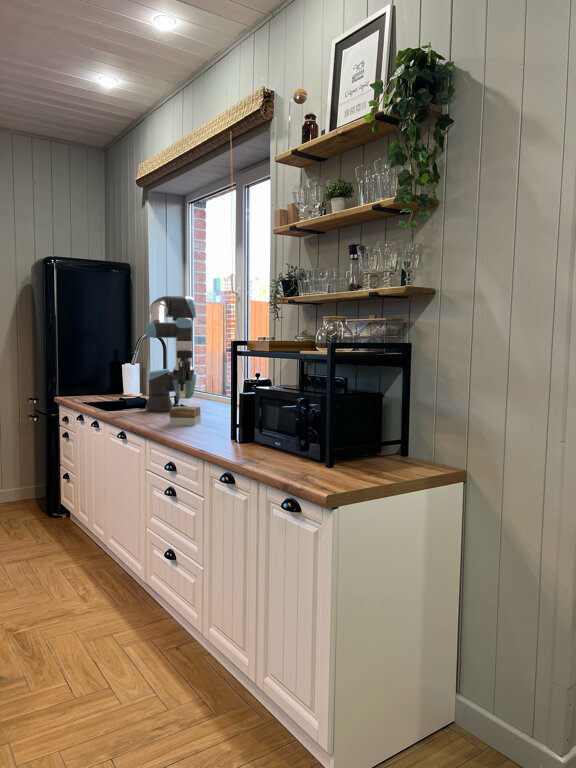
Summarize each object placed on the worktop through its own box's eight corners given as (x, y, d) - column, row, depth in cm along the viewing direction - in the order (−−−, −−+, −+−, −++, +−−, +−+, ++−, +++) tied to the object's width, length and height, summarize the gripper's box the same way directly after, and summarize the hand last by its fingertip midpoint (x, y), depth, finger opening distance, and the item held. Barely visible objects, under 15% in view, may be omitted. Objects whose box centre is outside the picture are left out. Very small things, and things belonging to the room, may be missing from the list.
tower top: (176, 414, 292) (176, 406, 292) (200, 414, 291) (200, 406, 290) (169, 417, 280) (169, 409, 280) (194, 417, 279) (194, 409, 279)
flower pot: (196, 397, 288) (195, 379, 288) (191, 399, 280) (191, 380, 279) (178, 397, 289) (178, 379, 289) (173, 399, 281) (173, 380, 280)
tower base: (177, 422, 292) (176, 414, 292) (200, 422, 291) (200, 414, 291) (170, 425, 280) (170, 417, 280) (194, 426, 279) (194, 418, 279)
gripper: (182, 349, 294) (183, 394, 295) (170, 350, 272) (171, 398, 274) (197, 349, 293) (197, 394, 295) (186, 350, 272) (187, 399, 274)
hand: (184, 396), depth 284 cm, fingers closed on flower pot, 8 cm apart
